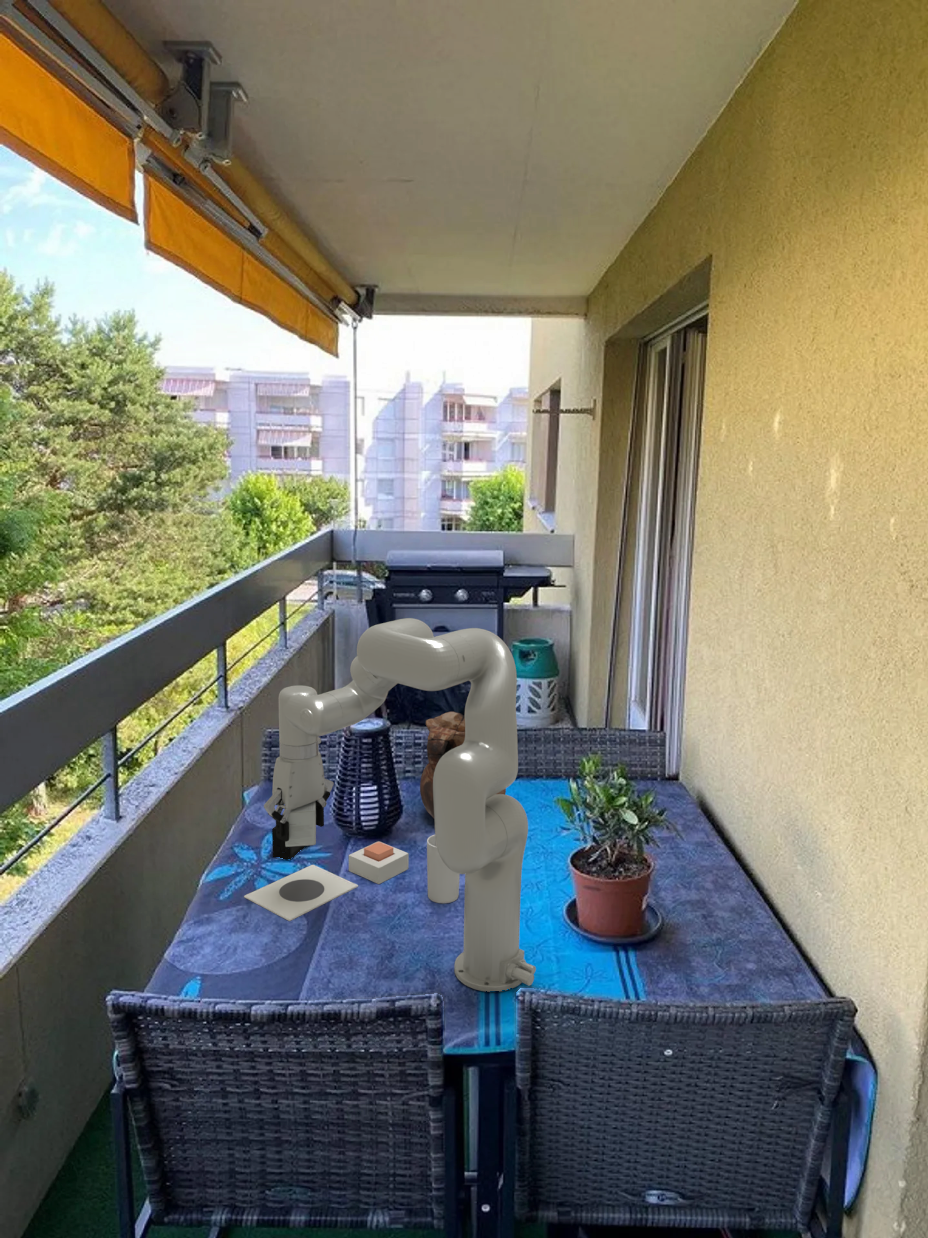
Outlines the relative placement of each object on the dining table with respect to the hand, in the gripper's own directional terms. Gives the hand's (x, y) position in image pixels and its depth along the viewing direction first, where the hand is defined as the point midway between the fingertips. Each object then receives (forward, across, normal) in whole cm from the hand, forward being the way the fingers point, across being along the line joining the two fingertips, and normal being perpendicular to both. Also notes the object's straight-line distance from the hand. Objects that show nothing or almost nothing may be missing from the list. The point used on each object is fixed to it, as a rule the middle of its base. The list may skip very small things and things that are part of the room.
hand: (300, 831), depth 176 cm
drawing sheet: (+13, 0, 0) cm, 13 cm away
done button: (+10, -17, +5) cm, 21 cm away
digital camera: (+13, -12, -16) cm, 24 cm away
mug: (+13, -19, +22) cm, 32 cm away
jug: (+13, -50, +1) cm, 52 cm away
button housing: (+13, -17, +5) cm, 22 cm away
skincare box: (+2, 0, 0) cm, 2 cm away
